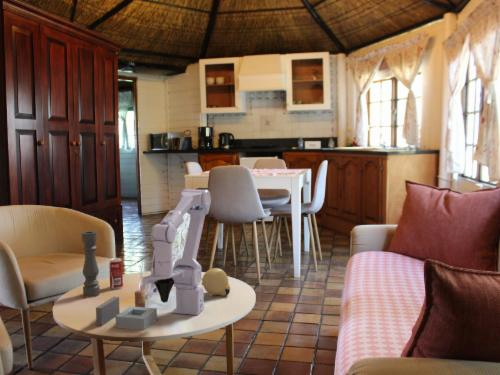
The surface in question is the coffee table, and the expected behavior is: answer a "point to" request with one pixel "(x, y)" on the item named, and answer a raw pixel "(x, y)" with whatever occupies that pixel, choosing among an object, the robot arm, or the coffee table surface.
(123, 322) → the socket block
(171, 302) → the coffee table surface
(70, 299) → the coffee table surface
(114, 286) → the soda can
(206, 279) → the toy pig
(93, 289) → the candle holder
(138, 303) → the dowel
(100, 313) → the charcoal wall
